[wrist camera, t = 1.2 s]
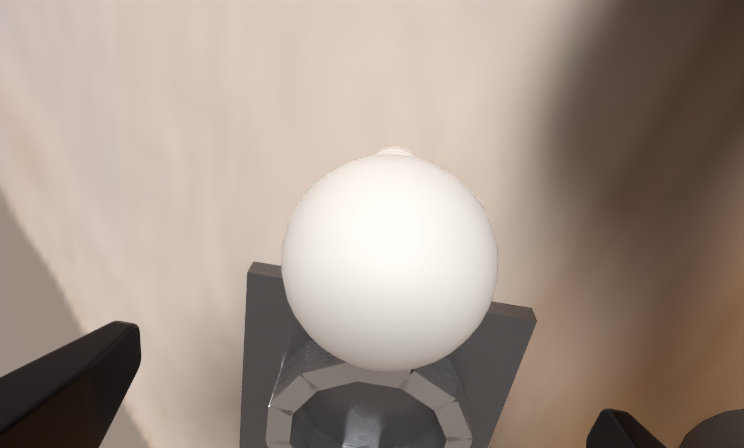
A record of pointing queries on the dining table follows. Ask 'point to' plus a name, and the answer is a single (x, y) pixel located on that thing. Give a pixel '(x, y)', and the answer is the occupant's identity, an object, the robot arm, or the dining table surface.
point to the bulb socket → (369, 383)
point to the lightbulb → (389, 262)
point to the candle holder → (718, 432)
